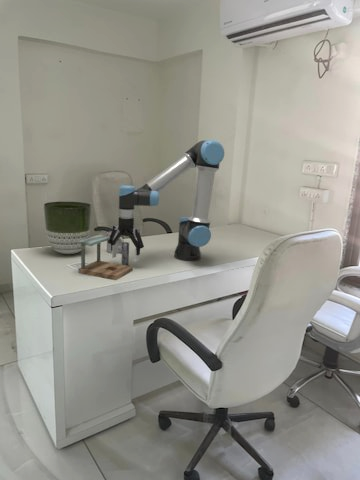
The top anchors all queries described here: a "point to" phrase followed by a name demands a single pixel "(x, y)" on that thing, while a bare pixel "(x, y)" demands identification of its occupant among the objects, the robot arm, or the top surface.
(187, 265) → the top surface
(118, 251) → the mug
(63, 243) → the planter
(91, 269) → the peg stand
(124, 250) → the peg
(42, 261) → the top surface
